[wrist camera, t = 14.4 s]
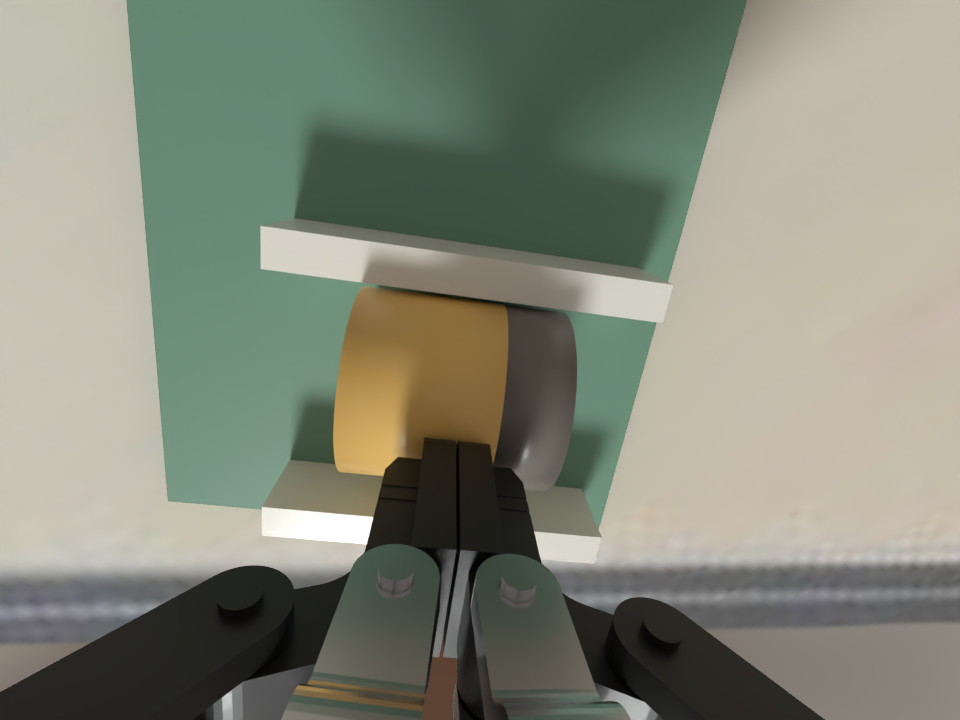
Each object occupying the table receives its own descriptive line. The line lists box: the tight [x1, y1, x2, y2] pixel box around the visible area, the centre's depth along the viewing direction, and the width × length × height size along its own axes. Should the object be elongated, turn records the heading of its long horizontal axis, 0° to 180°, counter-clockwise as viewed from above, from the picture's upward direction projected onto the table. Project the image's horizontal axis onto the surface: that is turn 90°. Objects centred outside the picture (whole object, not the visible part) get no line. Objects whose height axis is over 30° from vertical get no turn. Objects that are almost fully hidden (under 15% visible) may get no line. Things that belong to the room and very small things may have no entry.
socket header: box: [260, 218, 673, 564], centre depth 14 cm, size 9×10×2 cm
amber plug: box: [333, 286, 577, 492], centre depth 13 cm, size 5×5×5 cm
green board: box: [127, 0, 747, 529], centre depth 15 cm, size 18×15×1 cm
